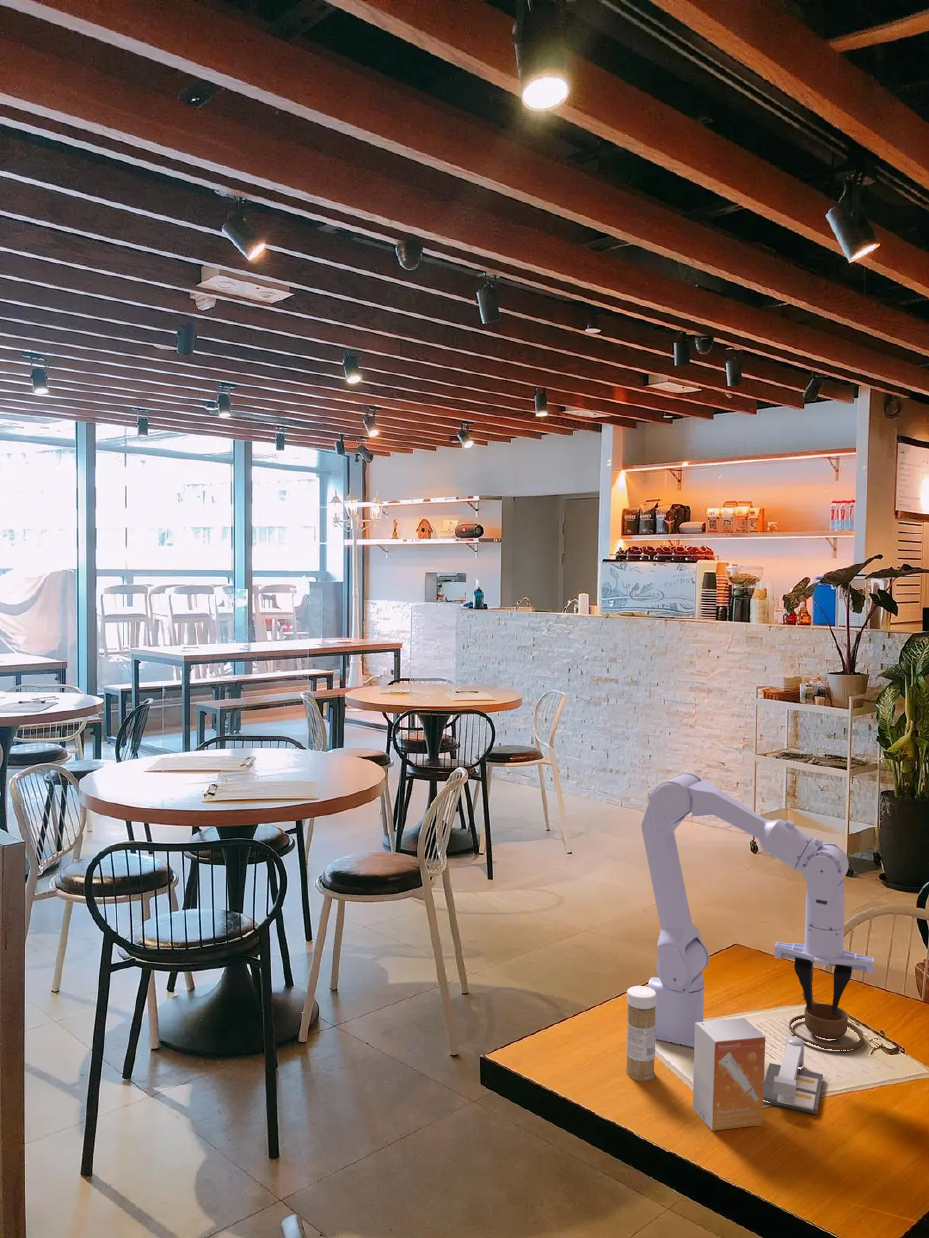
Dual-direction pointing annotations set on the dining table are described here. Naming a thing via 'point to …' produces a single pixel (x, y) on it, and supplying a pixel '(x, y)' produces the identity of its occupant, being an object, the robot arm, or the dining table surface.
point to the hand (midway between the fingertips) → (822, 1009)
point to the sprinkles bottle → (641, 1033)
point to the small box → (728, 1073)
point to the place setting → (827, 1025)
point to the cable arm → (789, 1067)
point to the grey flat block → (805, 1089)
